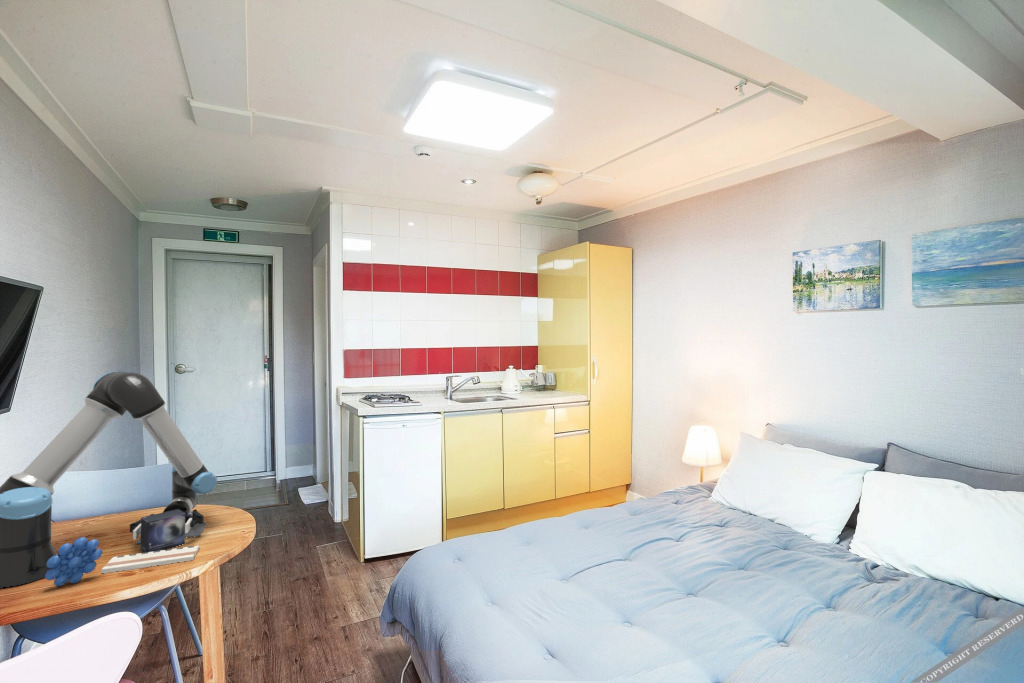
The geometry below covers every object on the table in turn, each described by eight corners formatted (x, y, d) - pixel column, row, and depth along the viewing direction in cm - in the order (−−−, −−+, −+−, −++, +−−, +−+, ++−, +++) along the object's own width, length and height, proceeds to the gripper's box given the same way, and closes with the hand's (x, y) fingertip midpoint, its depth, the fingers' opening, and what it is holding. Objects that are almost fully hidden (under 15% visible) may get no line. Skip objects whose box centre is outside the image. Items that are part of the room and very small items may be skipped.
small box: (146, 556, 149) (146, 521, 149) (139, 550, 153) (139, 517, 153) (185, 544, 157) (186, 512, 157) (178, 540, 161) (178, 508, 161)
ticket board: (101, 573, 137) (101, 568, 137) (113, 560, 145) (113, 556, 145) (192, 560, 145) (192, 555, 145) (199, 549, 154) (199, 544, 154)
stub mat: (134, 544, 157) (134, 543, 157) (148, 529, 170) (148, 528, 170) (199, 536, 164) (199, 535, 164) (207, 522, 177) (208, 521, 177)
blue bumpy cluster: (99, 570, 139) (100, 528, 139) (103, 578, 134) (104, 534, 134) (43, 585, 130) (44, 540, 130) (45, 594, 126) (45, 547, 126)
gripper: (218, 516, 177) (206, 537, 157) (134, 526, 167) (111, 550, 147) (218, 496, 177) (207, 514, 157) (134, 504, 167) (111, 525, 148)
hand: (160, 532), depth 152 cm, fingers open, 13 cm apart
